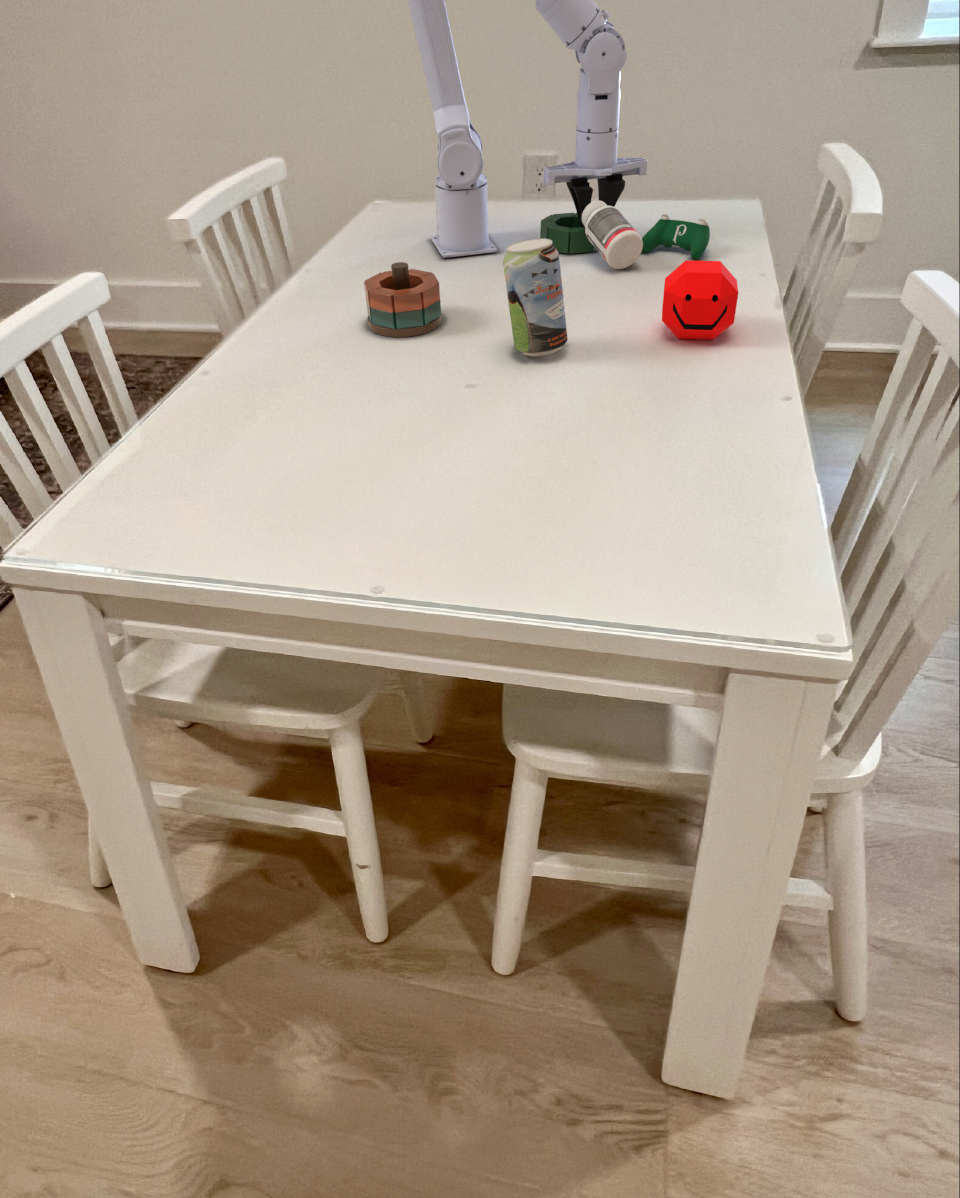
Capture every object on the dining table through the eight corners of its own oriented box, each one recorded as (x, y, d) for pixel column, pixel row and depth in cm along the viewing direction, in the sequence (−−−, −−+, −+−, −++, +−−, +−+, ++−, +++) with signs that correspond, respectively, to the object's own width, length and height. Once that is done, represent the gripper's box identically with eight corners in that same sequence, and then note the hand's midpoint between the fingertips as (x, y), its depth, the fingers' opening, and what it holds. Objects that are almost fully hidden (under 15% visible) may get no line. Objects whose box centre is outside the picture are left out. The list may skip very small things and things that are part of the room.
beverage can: (551, 367, 98) (552, 256, 90) (494, 354, 101) (490, 246, 93) (577, 346, 102) (580, 238, 94) (521, 334, 105) (520, 229, 97)
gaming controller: (703, 270, 124) (718, 231, 124) (698, 256, 121) (714, 215, 121) (642, 261, 128) (657, 222, 128) (636, 247, 125) (651, 207, 125)
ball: (659, 345, 101) (666, 278, 96) (660, 318, 107) (667, 253, 102) (732, 348, 100) (742, 280, 95) (729, 320, 106) (738, 255, 101)
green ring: (534, 236, 132) (535, 215, 130) (589, 231, 133) (591, 211, 131) (551, 255, 125) (552, 233, 124) (609, 250, 127) (611, 228, 125)
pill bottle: (648, 231, 117) (615, 193, 122) (613, 235, 115) (580, 196, 121) (638, 268, 121) (606, 229, 126) (603, 273, 120) (572, 233, 125)
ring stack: (364, 313, 112) (357, 257, 107) (434, 304, 113) (429, 248, 109) (373, 341, 105) (366, 282, 101) (448, 331, 106) (444, 273, 102)
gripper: (554, 139, 116) (553, 246, 125) (659, 129, 119) (650, 234, 127) (539, 128, 122) (539, 231, 130) (639, 119, 124) (632, 220, 132)
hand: (593, 232), depth 129 cm, fingers closed on green ring, 2 cm apart
